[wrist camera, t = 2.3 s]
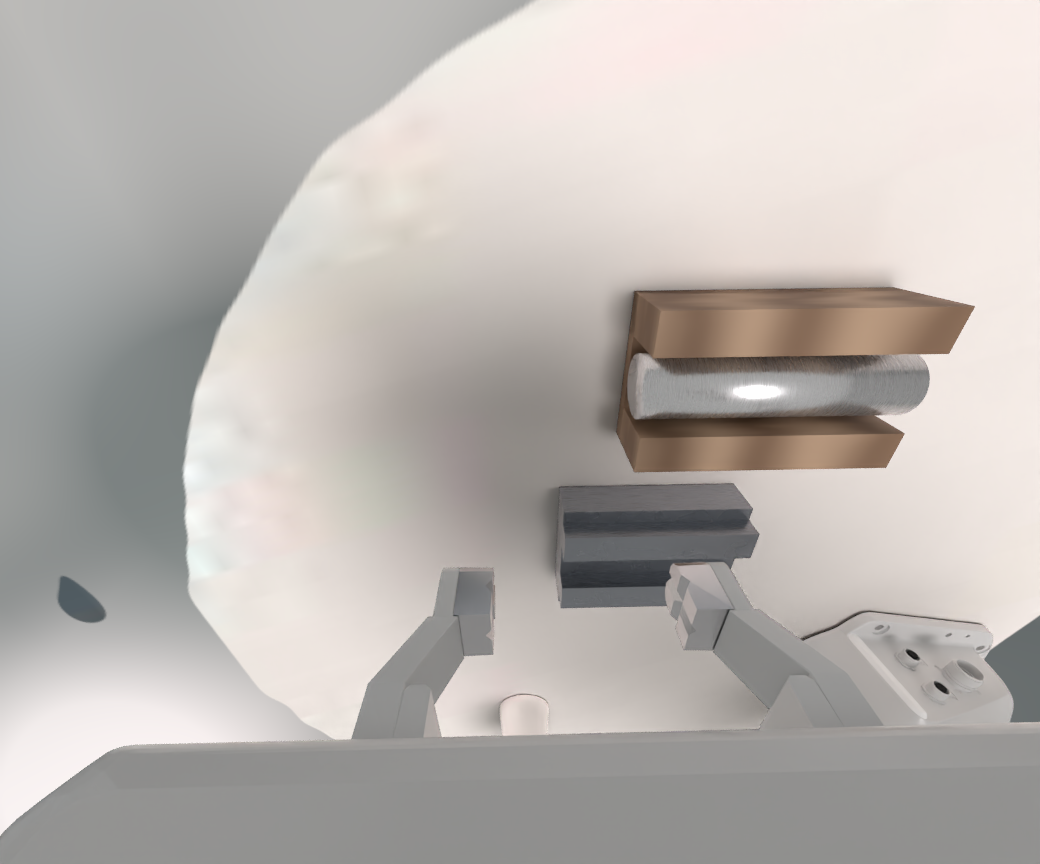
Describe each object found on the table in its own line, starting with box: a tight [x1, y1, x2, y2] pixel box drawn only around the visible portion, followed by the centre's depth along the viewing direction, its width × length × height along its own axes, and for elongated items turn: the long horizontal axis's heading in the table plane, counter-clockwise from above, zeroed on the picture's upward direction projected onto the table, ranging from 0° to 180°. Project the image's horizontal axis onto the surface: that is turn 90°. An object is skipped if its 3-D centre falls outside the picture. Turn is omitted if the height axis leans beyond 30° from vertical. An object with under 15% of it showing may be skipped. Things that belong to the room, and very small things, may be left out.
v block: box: [555, 484, 759, 608], centre depth 33 cm, size 14×10×4 cm
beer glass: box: [499, 695, 549, 736], centre depth 43 cm, size 7×7×15 cm
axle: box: [627, 353, 930, 419], centre depth 24 cm, size 16×4×4 cm, turn 91°
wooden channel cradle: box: [616, 287, 975, 472], centre depth 25 cm, size 16×10×5 cm, turn 91°
